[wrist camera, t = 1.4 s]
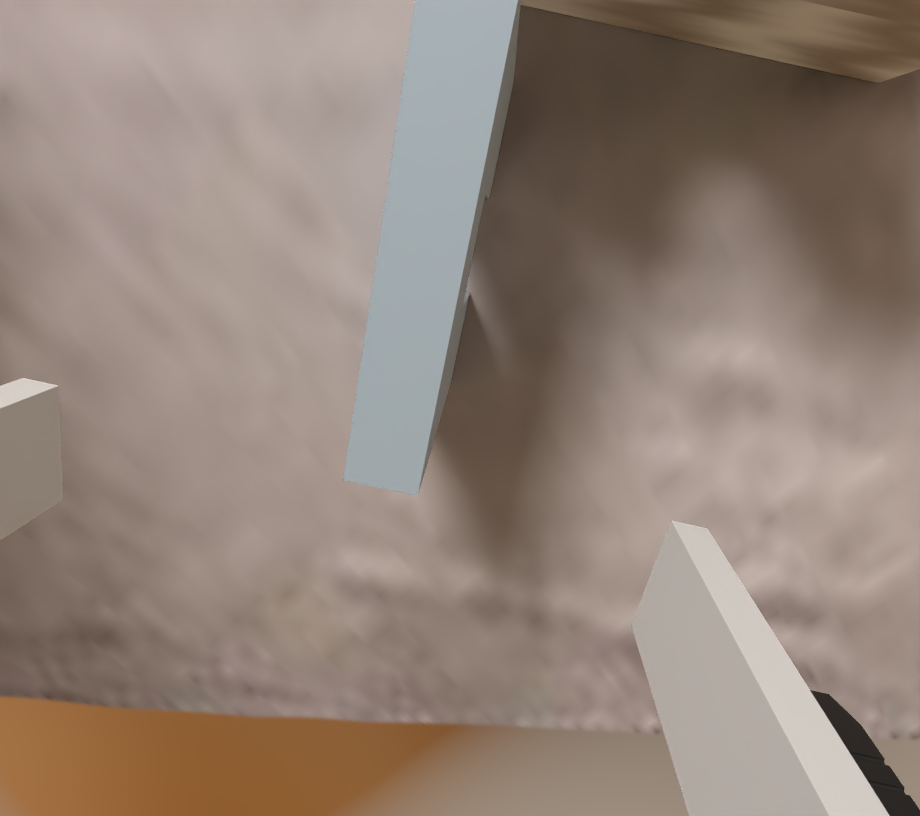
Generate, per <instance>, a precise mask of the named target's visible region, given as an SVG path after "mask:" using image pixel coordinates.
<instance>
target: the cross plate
mask: <svg viewBox="0 0 920 816" xmlns="http://www.w3.org/2000/svg"><path fill="white" fill-rule="evenodd" d="M520 7H521V0H415V4H414V11H413V18H412V24H411V31H410V38H409V44H408V51H407V58H406V64H405V71H404V78H403V84H402V91H401V98H400V104H399V111H398V118H397V124H396V131H395V138H394V144H393V151H392V158H391V164H390V171H389V178H388V184H387V191H386V198H385V204H384V211H383V218H382V224H381V231H380V238H379V244H378V251H377V258H376V265H375V271H374V278H373V285H372V291H371V298H370V305H369V311H368V318H367V325H366V331H365V338H364V345H363V351H362V358H361V365H360V371H359V378H358V385H357V391H356V398H355V405H354V411H353V418H352V425H351V431H350V438H349V445H348V451H347V458H346V465H345V471H344V478H343V480H346V481H351V482H355V483H360V484H364V485H369V486H373V487H378V488H383V489H387V490H392V491H396V492H401V493H406V494H410V495H415V496H418V493H419V490H420V486H421V483H422V479H423V476H424V473H425V469H426V466H427V463H428V459H429V456H430V452H431V449H432V446H433V442H434V439H435V436H436V432H437V429H438V425H439V422H440V419H441V415H442V412H443V409H444V405H445V402H446V398H447V395H448V392H449V388H450V385H451V380H452V375H453V371H454V366H455V361H456V356H457V351H458V347H459V342H460V337H461V332H462V328H463V323H464V318H465V313H466V308H467V304H468V299H469V294H470V293H468V292H466V287H467V282H468V277H469V273H470V268H471V263H472V258H473V253H474V248H475V244H476V239H477V234H478V229H479V224H480V219H481V215H482V210H483V205H484V200H485V197H486V198H490V194H491V189H492V184H493V179H494V175H495V170H496V165H497V160H498V155H499V151H500V146H501V141H502V136H503V132H504V127H505V122H506V117H507V112H508V108H509V103H510V98H511V93H512V89H513V84H514V75H515V63H516V52H517V41H518V29H519V18H520Z"/></svg>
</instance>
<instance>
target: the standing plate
mask: <svg viewBox="0 0 920 816" xmlns="http://www.w3.org/2000/svg"><path fill="white" fill-rule="evenodd" d="M521 5H524V6H528V7H533V8H537V9H542V10H546V11H551V12H556V13H560V14H565V15H569V16H574V17H578V18H583V19H588V20H592V21H597V22H601V23H606V24H610V25H615V26H619V27H624V28H629V29H633V30H638V31H642V32H647V33H651V34H656V35H661V36H665V37H670V38H674V39H679V40H683V41H688V42H692V43H697V44H702V45H706V46H711V47H715V48H720V49H724V50H729V51H734V52H738V53H743V54H747V55H752V56H756V57H761V58H766V59H770V60H775V61H779V62H784V63H788V64H793V65H797V66H802V67H807V68H811V69H816V70H820V71H825V72H829V73H834V74H839V75H843V76H848V77H852V78H857V79H861V80H866V81H870V82H875V83H880V82H883V81H886V80H889V79H892V78H895V77H898V76H901V75H904V74H907V73H910V72H913V71H916V70H919V69H920V0H521Z"/></svg>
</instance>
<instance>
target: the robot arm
mask: <svg viewBox="0 0 920 816" xmlns="http://www.w3.org/2000/svg"><path fill="white" fill-rule="evenodd" d="M62 500H63V481H62V456H61V430H60V404H59V386H58V385H53V384H49V383H44V382H40V381H35V380H31V379H26V378H21V379H19V380H16V381H13V382H10V383H7V384H4V385H1V386H0V540H2V539H3V538H5V537H7V536H8V535H10V534H11V533H13V532H14V531H16V530H17V529H19V528H20V527H22V526H23V525H25V524H27V523H28V522H30V521H31V520H33V519H34V518H36V517H37V516H39V515H40V514H42V513H43V512H45V511H47V510H48V509H50V508H51V507H53V506H54V505H56V504H57V503H59V502H60V501H62ZM631 626H632V629H633V632H634V636H635V639H636V642H637V646H638V649H639V652H640V655H641V659H642V662H643V665H644V669H645V672H646V675H647V679H648V682H649V685H650V688H651V692H652V695H653V698H654V702H655V705H656V708H657V712H658V715H659V718H660V721H661V725H662V728H663V731H664V735H665V738H666V741H667V744H668V748H669V751H670V754H671V758H672V761H673V764H674V767H675V771H676V774H677V777H678V781H679V784H680V787H681V791H682V794H683V797H684V800H685V804H686V807H687V811H688V814H689V816H920V810H919V808H918V807H917V805H916V804H915V802H914V801H913V800H912V798H911V797H910V796H909V795H905V793H904V786H903V785H902V784H901V782H900V781H899V779H898V778H897V777H896V775H895V773H894V772H893V771H892V769H891V768H890V766H887V765H885V764H884V758H883V756H882V755H881V753H880V752H879V750H878V749H877V747H876V746H875V745H874V743H873V742H872V740H871V739H870V737H869V736H868V734H867V733H866V732H865V730H864V729H863V727H862V726H861V725H860V724H859V723H858V722H857V721H856V720H855V719H854V718H853V717H852V716H851V715H850V714H849V713H848V712H847V711H846V710H845V709H844V708H843V707H842V706H840V705H839V704H838V703H837V702H836V701H835V700H834V699H833V698H832V697H831V696H830V695H829V694H825V693H820V692H816V691H811V690H809V688H808V686H807V685H806V683H805V682H804V680H803V679H802V677H801V675H800V674H799V672H798V671H797V669H796V668H795V666H794V664H793V663H792V661H791V660H790V658H789V657H788V655H787V653H786V652H785V650H784V649H783V647H782V645H781V644H780V642H779V641H778V639H777V638H776V636H775V634H774V633H773V631H772V630H771V628H770V627H769V625H768V623H767V622H766V620H765V619H764V617H763V616H762V614H761V612H760V611H759V609H758V608H757V606H756V605H755V603H754V601H753V600H752V598H751V597H750V595H749V594H748V592H747V590H746V589H745V587H744V586H743V584H742V583H741V581H740V579H739V578H738V576H737V575H736V573H735V571H734V570H733V568H732V567H731V565H730V564H729V562H728V560H727V559H726V557H725V556H724V554H723V553H722V551H721V549H720V548H719V546H718V545H717V543H716V542H715V540H714V538H713V537H712V535H711V534H710V532H709V531H708V529H707V528H703V527H698V526H694V525H689V524H685V523H680V522H675V521H671V523H670V525H669V528H668V530H667V533H666V536H665V538H664V541H663V544H662V546H661V549H660V551H659V554H658V557H657V559H656V562H655V565H654V567H653V570H652V572H651V575H650V578H649V580H648V583H647V586H646V588H645V591H644V594H643V596H642V599H641V601H640V604H639V607H638V609H637V612H636V615H635V617H634V620H633V622H632V625H631Z"/></svg>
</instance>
